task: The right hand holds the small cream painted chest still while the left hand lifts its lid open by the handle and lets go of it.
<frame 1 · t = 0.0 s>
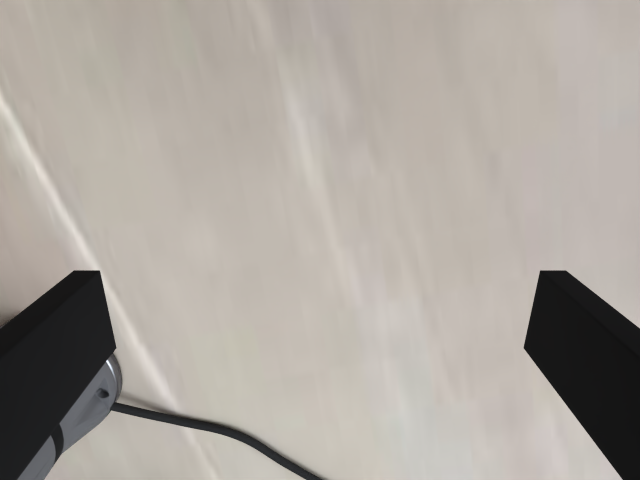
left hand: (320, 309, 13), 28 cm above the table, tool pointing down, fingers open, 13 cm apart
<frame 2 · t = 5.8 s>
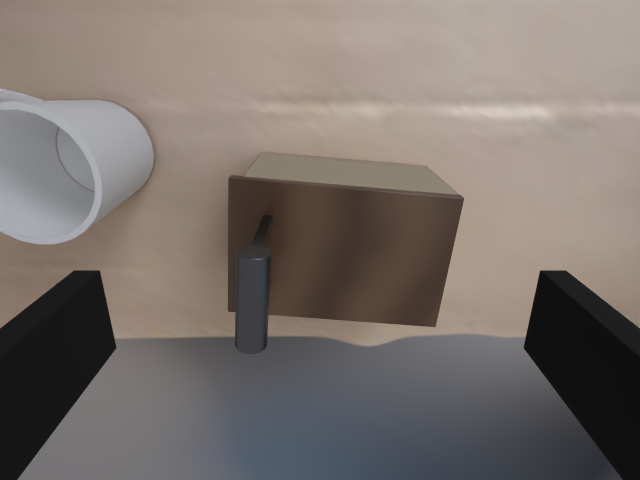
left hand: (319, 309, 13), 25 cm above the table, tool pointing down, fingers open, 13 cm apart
lid: (341, 279, 25), point 13 cm above the table, hinge at 0.0°
mug: (99, 139, 35), on the table
chest: (339, 212, 37), on the table
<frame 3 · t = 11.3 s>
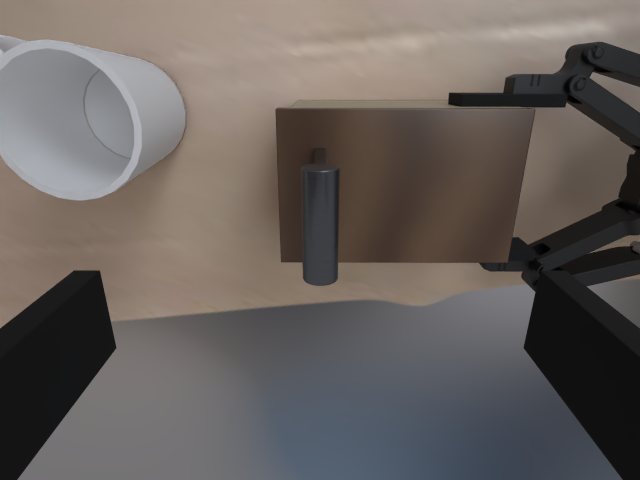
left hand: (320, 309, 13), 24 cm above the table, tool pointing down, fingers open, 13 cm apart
lid: (410, 206, 23), point 13 cm above the table, hinge at 0.0°
mug: (127, 101, 33), on the table
chest: (383, 160, 35), on the table, touching right hand
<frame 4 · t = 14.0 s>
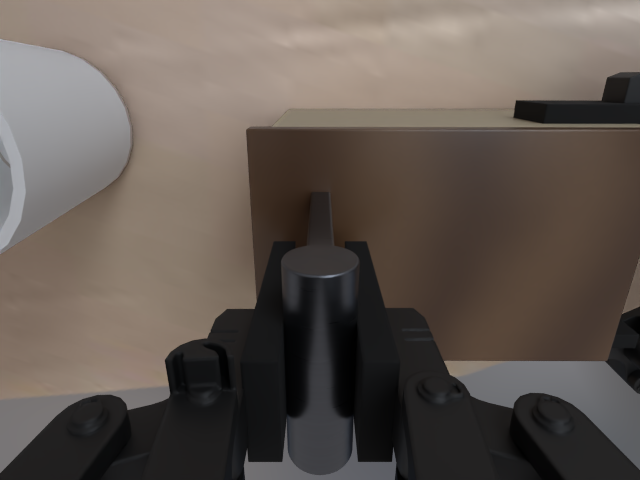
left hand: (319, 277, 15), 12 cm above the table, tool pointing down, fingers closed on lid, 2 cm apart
lid: (474, 299, 13), point 13 cm above the table, hinge at -0.1°, touching left hand
mug: (50, 111, 24), on the table
chest: (406, 192, 25), on the table, touching right hand
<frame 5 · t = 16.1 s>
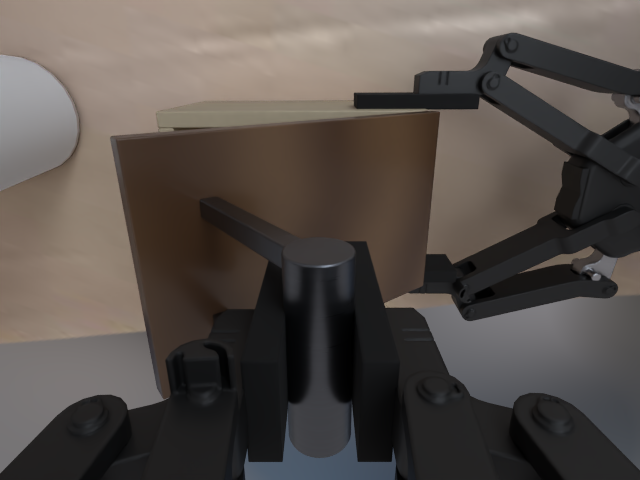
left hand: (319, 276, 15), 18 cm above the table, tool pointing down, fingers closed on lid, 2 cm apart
right hand: (353, 190, 25), fingers closed on chest, 10 cm apart
lid: (371, 260, 16), point 17 cm above the table, hinge at 37.7°, touching left hand
mug: (14, 105, 30), on the table
chest: (303, 168, 32), on the table, touching right hand
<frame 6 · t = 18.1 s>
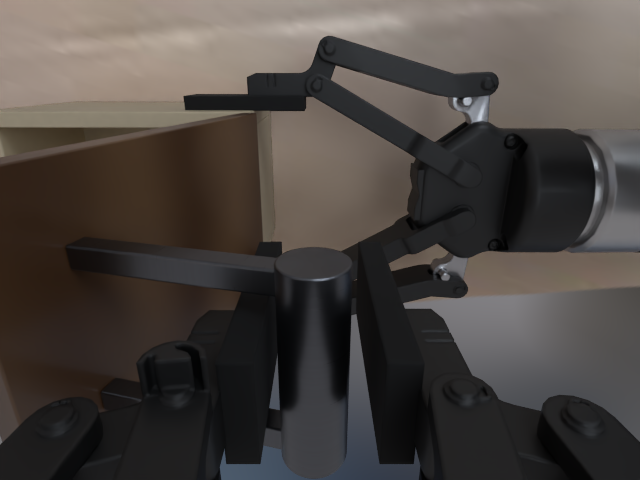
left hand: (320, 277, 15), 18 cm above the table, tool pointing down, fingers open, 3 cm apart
right hand: (201, 191, 26), fingers closed on chest, 10 cm apart
lid: (266, 268, 15), point 18 cm above the table, hinge at 75.3°
chest: (179, 168, 32), on the table, touching right hand
when the right hand's fingers open (7 cm above the table, at t = 22.0 s): chest stays where it is, on the table.
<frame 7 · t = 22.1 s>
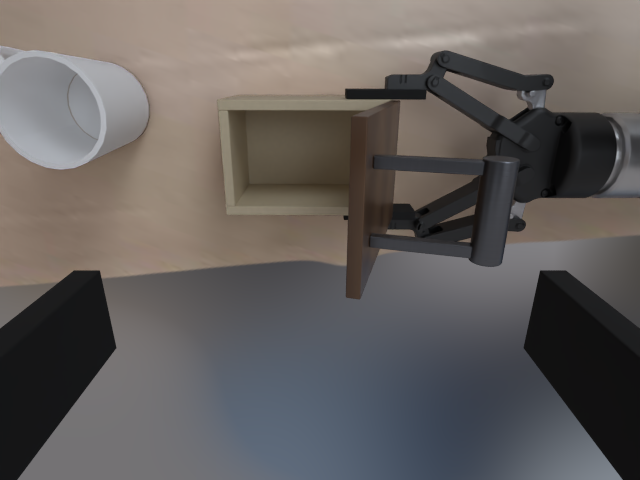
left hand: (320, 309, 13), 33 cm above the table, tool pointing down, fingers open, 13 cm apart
right hand: (344, 155, 37), fingers open, 10 cm apart
lid: (433, 185, 27), point 18 cm above the table, hinge at 74.0°
mug: (103, 96, 42), on the table
chest: (308, 144, 44), on the table
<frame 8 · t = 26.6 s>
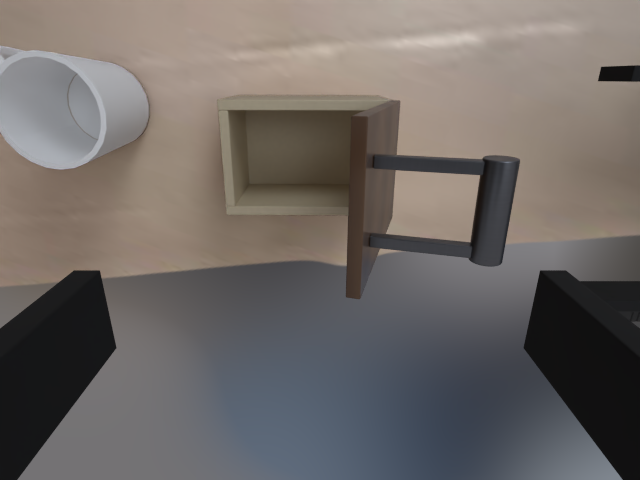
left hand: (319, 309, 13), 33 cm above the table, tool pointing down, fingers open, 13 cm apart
lid: (433, 185, 27), point 18 cm above the table, hinge at 74.0°
mug: (103, 96, 42), on the table
chest: (308, 144, 44), on the table
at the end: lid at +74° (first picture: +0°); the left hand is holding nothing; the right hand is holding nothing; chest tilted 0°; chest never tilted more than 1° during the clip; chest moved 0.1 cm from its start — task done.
